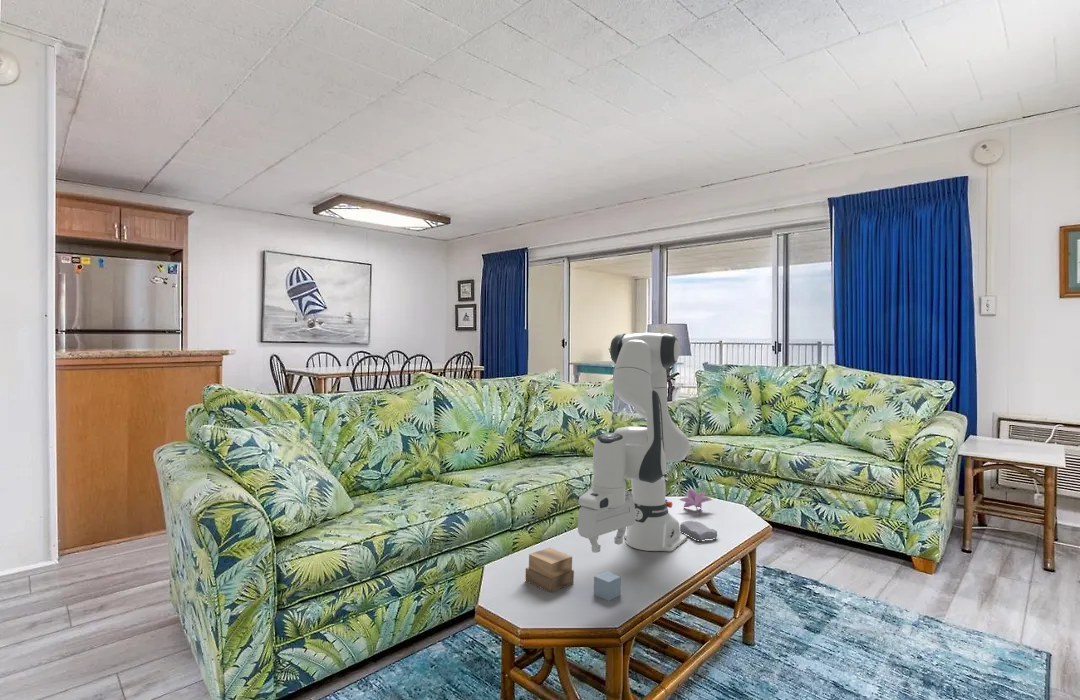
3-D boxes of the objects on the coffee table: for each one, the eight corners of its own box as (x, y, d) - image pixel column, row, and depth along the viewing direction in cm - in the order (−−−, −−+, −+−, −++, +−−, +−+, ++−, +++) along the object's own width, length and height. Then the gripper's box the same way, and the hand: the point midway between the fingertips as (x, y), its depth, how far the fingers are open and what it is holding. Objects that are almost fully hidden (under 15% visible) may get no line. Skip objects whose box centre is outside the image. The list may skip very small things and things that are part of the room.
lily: (716, 515, 225) (711, 491, 229) (708, 510, 216) (703, 485, 220) (687, 520, 230) (683, 496, 234) (678, 515, 221) (674, 491, 225)
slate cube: (605, 589, 153) (606, 571, 153) (620, 595, 149) (620, 576, 149) (593, 594, 149) (594, 576, 149) (608, 601, 146) (608, 582, 146)
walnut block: (548, 573, 164) (548, 560, 164) (573, 584, 156) (573, 570, 156) (525, 582, 157) (525, 568, 157) (550, 594, 150) (551, 579, 150)
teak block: (549, 561, 163) (549, 547, 163) (571, 570, 156) (572, 556, 156) (528, 568, 157) (529, 554, 157) (551, 578, 151) (551, 563, 150)
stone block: (699, 534, 204) (676, 531, 201) (702, 521, 204) (679, 518, 201) (720, 546, 193) (696, 544, 190) (723, 533, 193) (699, 530, 190)
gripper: (623, 487, 158) (622, 536, 158) (574, 499, 144) (573, 553, 144) (641, 491, 154) (640, 542, 154) (593, 504, 140) (591, 560, 140)
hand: (607, 547), depth 149 cm, fingers open, 8 cm apart
